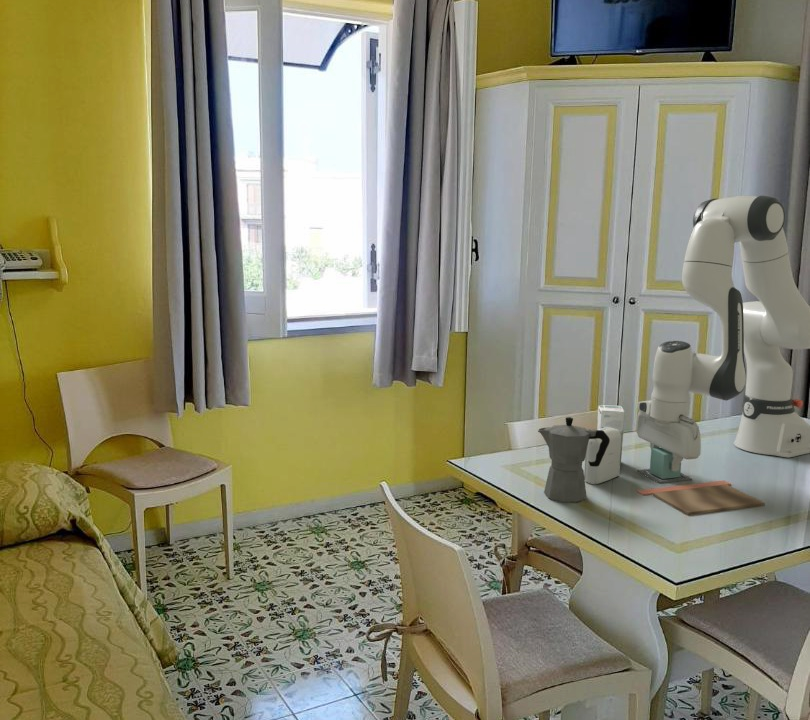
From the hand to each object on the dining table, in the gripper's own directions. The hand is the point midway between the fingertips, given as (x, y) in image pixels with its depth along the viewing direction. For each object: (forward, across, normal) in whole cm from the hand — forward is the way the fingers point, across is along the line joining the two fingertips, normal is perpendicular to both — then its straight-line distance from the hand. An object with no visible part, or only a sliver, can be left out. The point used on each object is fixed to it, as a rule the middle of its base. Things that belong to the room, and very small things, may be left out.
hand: (665, 466), depth 192 cm
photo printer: (+2, +2, +16) cm, 17 cm away
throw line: (+2, -9, +1) cm, 9 cm away
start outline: (+2, 0, 0) cm, 2 cm away
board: (+2, -17, +1) cm, 17 cm away
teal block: (+2, 0, 0) cm, 2 cm away
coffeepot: (+2, -6, +29) cm, 30 cm away
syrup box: (+2, +12, +8) cm, 15 cm away
